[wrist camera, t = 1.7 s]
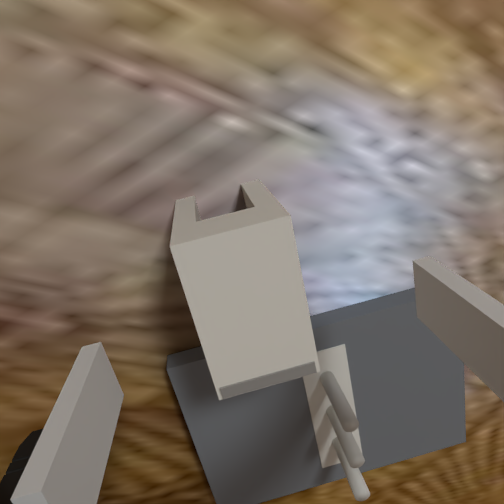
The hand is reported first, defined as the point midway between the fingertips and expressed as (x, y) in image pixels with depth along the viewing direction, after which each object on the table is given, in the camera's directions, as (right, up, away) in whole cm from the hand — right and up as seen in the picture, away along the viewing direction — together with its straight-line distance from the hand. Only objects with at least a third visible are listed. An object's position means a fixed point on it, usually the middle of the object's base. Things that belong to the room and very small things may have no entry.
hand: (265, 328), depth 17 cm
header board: (+5, -8, +13) cm, 16 cm away
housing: (-2, +3, +8) cm, 9 cm away
